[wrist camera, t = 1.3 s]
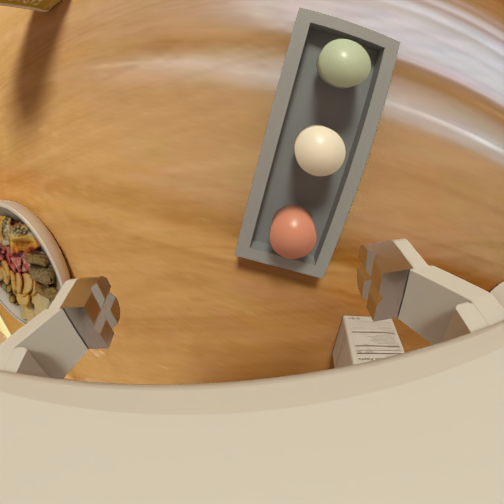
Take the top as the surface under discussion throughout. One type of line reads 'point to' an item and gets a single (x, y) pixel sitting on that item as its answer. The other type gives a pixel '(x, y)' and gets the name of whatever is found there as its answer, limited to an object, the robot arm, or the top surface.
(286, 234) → the brick button
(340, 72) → the sage button
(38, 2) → the juice carton
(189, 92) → the top surface
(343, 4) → the top surface
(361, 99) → the grey rectangular tray
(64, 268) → the bowl
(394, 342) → the supplement box
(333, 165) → the cream round piece
